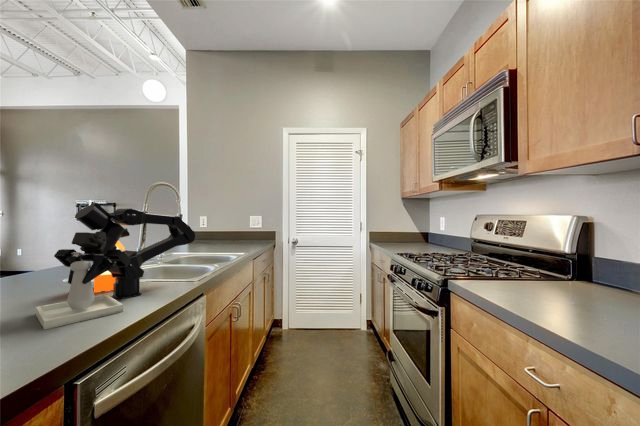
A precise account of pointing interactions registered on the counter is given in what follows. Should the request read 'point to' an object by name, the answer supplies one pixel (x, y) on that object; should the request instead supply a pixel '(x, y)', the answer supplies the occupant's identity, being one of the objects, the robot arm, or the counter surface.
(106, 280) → the orange juice
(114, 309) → the tray
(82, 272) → the salt shaker
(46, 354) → the counter surface
